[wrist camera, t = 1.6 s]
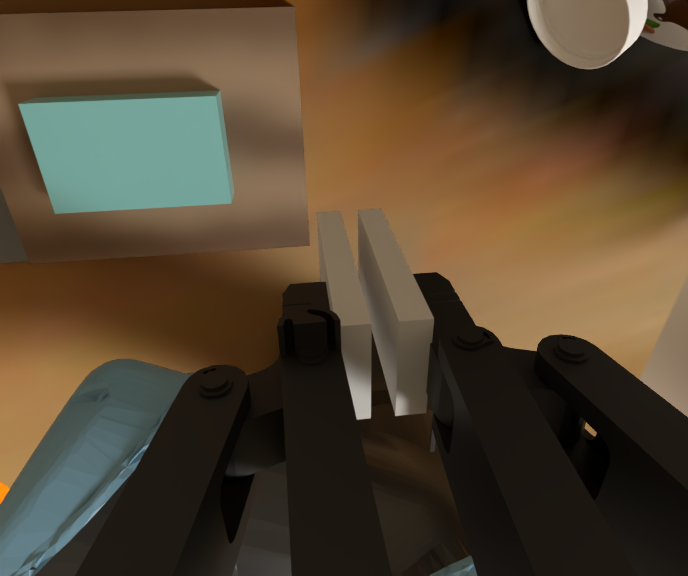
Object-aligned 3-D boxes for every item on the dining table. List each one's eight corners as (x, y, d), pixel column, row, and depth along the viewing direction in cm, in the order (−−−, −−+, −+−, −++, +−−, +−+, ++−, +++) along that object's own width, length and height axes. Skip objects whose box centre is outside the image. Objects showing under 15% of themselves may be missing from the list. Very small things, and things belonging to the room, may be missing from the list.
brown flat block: (307, 228, 36) (309, 245, 33) (49, 244, 34) (30, 264, 32) (293, 6, 29) (294, 6, 26) (-33, 14, 27) (-65, 16, 25)
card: (234, 192, 31) (231, 203, 29) (67, 201, 30) (55, 213, 28) (220, 90, 28) (216, 95, 26) (34, 97, 27) (18, 103, 25)
